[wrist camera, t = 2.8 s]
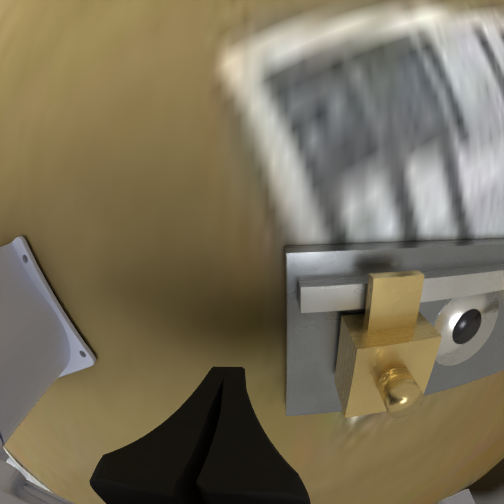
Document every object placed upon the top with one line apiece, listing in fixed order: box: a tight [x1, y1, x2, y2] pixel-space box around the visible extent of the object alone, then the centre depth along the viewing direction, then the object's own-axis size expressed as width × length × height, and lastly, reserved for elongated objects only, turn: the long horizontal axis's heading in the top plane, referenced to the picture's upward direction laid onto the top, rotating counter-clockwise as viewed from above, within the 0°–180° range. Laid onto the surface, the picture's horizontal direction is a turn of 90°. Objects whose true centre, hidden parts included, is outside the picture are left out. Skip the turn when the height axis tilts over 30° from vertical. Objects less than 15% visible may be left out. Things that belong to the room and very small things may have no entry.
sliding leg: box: [334, 270, 442, 418], centre depth 11 cm, size 4×6×4 cm, turn 3°
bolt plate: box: [285, 238, 504, 416], centre depth 11 cm, size 22×10×7 cm, turn 93°
